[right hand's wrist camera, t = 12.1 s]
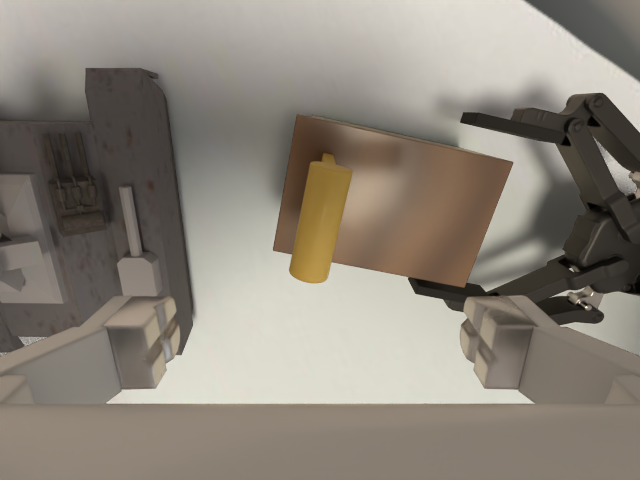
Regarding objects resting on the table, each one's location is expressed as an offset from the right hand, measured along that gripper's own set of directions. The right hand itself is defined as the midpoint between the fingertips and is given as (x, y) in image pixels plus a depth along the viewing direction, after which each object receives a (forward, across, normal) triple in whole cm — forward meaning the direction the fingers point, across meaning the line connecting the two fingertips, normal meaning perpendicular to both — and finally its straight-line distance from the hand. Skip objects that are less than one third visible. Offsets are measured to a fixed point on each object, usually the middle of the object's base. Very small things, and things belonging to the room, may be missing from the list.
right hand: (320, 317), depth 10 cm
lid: (+16, -5, +1) cm, 17 cm away
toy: (+25, +23, +4) cm, 35 cm away
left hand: (+19, -9, +2) cm, 21 cm away
